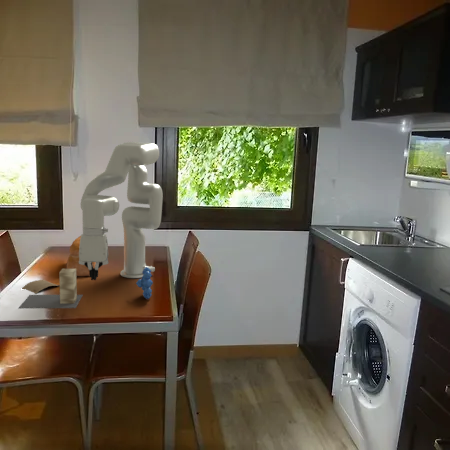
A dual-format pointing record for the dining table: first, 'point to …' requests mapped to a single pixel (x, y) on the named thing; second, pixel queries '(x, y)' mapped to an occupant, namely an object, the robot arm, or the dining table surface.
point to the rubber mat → (47, 302)
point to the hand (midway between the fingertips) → (93, 279)
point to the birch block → (68, 286)
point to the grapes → (146, 283)
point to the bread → (77, 259)
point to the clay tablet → (38, 285)
